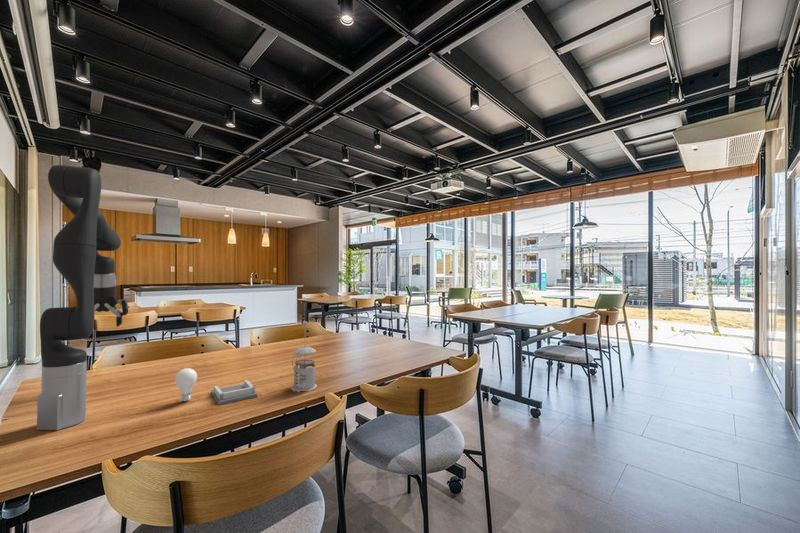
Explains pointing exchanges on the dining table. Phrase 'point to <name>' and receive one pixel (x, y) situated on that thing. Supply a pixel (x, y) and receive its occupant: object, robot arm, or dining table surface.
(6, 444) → the dining table surface
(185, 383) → the lightbulb
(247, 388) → the u holder
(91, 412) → the dining table surface
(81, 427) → the dining table surface
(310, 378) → the french press
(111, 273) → the robot arm
